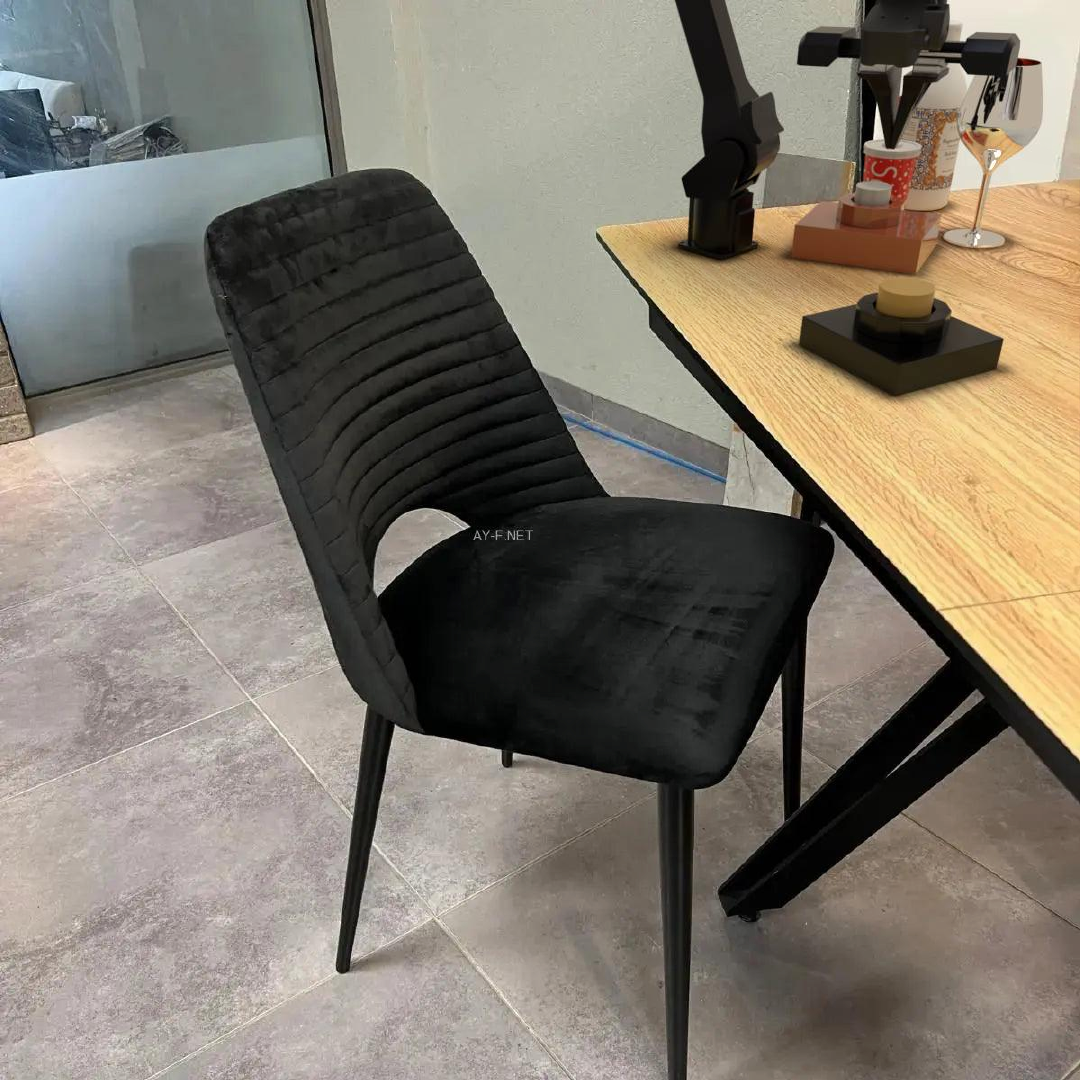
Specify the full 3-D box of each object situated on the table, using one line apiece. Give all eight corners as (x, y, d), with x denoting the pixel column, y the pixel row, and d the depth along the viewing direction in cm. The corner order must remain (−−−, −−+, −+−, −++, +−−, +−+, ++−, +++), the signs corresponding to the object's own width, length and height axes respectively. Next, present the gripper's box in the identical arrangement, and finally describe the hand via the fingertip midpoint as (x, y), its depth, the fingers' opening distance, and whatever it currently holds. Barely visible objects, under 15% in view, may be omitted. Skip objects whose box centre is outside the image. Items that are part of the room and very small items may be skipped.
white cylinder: (849, 206, 107) (852, 187, 106) (858, 198, 110) (861, 179, 109) (884, 210, 106) (887, 191, 105) (892, 202, 108) (895, 183, 107)
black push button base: (798, 345, 90) (804, 295, 87) (895, 322, 94) (903, 274, 91) (894, 397, 81) (903, 343, 78) (997, 369, 85) (1009, 317, 82)
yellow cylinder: (864, 307, 86) (868, 282, 85) (904, 298, 88) (908, 273, 86) (901, 324, 83) (905, 299, 81) (942, 314, 84) (947, 289, 83)
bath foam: (921, 215, 121) (954, 28, 110) (875, 202, 126) (903, 22, 115) (959, 205, 124) (995, 22, 113) (913, 193, 129) (943, 16, 118)
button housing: (791, 257, 110) (796, 205, 107) (817, 231, 117) (823, 182, 114) (915, 274, 104) (925, 220, 101) (935, 246, 112) (945, 195, 109)
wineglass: (925, 229, 117) (957, 56, 107) (998, 228, 117) (1037, 54, 107) (947, 251, 110) (983, 69, 100) (1024, 250, 110) (1068, 67, 100)
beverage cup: (841, 225, 119) (859, 96, 111) (874, 215, 122) (894, 88, 114) (884, 238, 114) (906, 104, 107) (918, 227, 118) (942, 96, 110)
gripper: (786, -30, 88) (769, 158, 97) (1017, -27, 80) (976, 177, 89) (825, -41, 96) (806, 134, 105) (1038, -39, 88) (999, 150, 97)
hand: (891, 148), depth 99 cm, fingers closed
